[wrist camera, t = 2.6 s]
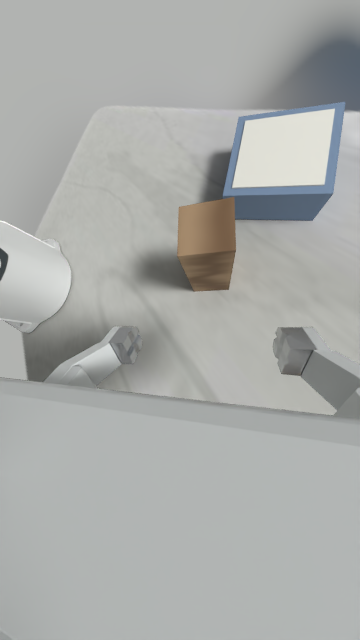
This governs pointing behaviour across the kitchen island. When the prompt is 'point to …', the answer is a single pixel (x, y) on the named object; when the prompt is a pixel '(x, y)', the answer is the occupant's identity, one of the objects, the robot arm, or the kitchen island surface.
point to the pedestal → (284, 163)
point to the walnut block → (207, 243)
